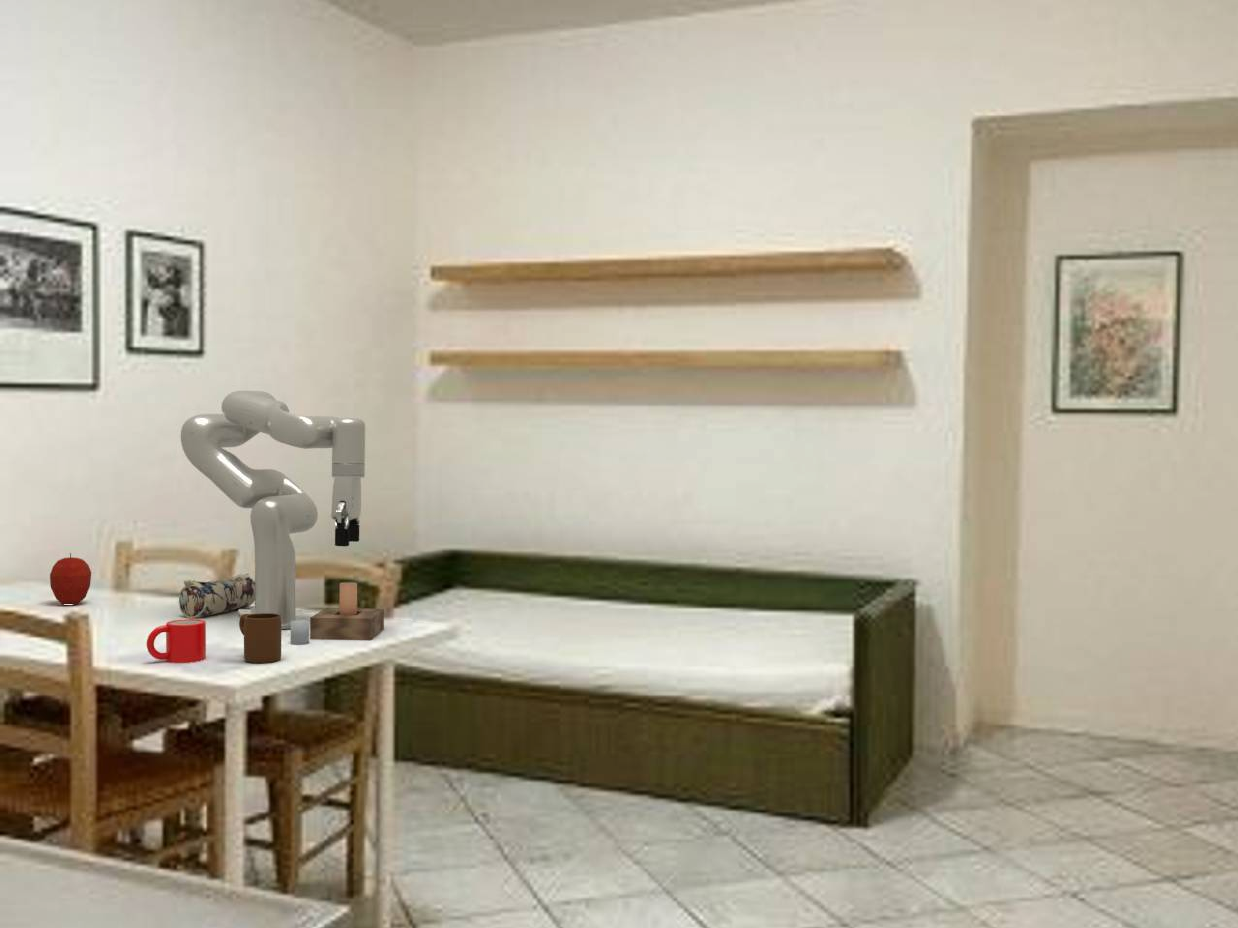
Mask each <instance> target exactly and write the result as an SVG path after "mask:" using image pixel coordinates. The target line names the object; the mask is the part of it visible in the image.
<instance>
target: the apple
mask: <svg viewBox="0 0 1238 928" xmlns="http://www.w3.org/2000/svg"><path fill="white" fill-rule="evenodd" d="M91 580H92V570H91V568H90V565H89V564H88V563H87V562H86V561H85V560H84V559H82V558H80V557H72V552H70V553H69V557H64V558H63V557H62V558H61V559H58V560H57V561H56V562H55V563H54V565H53V566H52V568H51V572H50V574H49V581H50V585H49V586H50V589H51V591H52V593H53V595H54V597H55V599H56V600H57V601H58V602H59V603H60V604H61V603H62V604H76V605H78V603H79V604H80V603H81V602H82V601H83V600H84V599H85V598H86V597H87V595H88V592H89V590H90V587H91ZM62 604H61V605H62Z"/></svg>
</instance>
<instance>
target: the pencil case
mask: <svg viewBox="0 0 1238 928" xmlns="http://www.w3.org/2000/svg"><path fill="white" fill-rule="evenodd" d="M183 584H184V587H182V588H181V589H180V591H179V595H178V605H179V606H178V607H179V609H180V612H181V614H182V615H183V616H184V617H186V618H187V619H199V618H200V619H201V618H204V617H209V616H212V615H218V614H222V613H226V612H227V613H228V612H229V611H230V612H231V611H234V610H237V609H238V610H239V609H246V608H248V607H250V606H251V605H253V604H254V603H255V579H253V578H252V577H251V576H249V573H239V574H237V575H236V576H233V577H231V578H228V579H219V580H214V581H213V580H211V581H199V580H198V581H196V580H195V579H193V580H192V579H187V580H186V579H185V580H183Z"/></svg>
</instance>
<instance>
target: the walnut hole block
mask: <svg viewBox="0 0 1238 928" xmlns="http://www.w3.org/2000/svg"><path fill="white" fill-rule="evenodd" d="M384 629H385V608H361V607H360V608H359V607H357V615H340V607H325V608H323V609H322V610H320V611H318V612H317V613H315V614H313V615H312V616H310V618H309V640H337V641H338V640H339V641H341V640H343V641H344V640H345V641H346V640H347V641H372V640H373V639H374V638H376V637H377V636H378V635H380V634H381V632H383V631H384Z"/></svg>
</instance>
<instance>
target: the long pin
mask: <svg viewBox="0 0 1238 928" xmlns="http://www.w3.org/2000/svg"><path fill="white" fill-rule="evenodd" d="M339 608H340V615H357V608H358V583H357V582H352V581H350V582H349V581H348V582H346V581H345V582H340V583H339Z"/></svg>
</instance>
